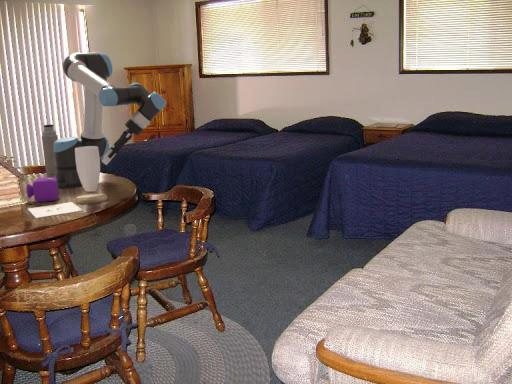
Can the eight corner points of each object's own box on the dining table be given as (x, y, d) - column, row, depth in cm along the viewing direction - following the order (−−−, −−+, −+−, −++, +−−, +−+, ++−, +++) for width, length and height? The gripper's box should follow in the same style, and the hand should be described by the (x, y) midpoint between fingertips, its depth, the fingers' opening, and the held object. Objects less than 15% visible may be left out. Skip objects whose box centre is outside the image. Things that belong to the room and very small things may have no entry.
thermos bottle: (43, 177, 298) (37, 125, 292) (51, 175, 306) (45, 124, 300) (57, 177, 297) (51, 125, 291) (64, 175, 305) (58, 123, 299)
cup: (101, 199, 237) (96, 148, 232) (76, 200, 236) (71, 149, 231) (105, 193, 247) (101, 145, 242) (82, 195, 246) (77, 146, 242)
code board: (27, 209, 230) (27, 208, 230) (71, 202, 239) (71, 202, 239) (36, 218, 215) (35, 217, 215) (82, 210, 224) (82, 210, 224)
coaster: (72, 200, 244) (72, 196, 243) (101, 195, 250) (101, 192, 250) (80, 205, 233) (80, 202, 233) (110, 200, 240) (110, 197, 239)
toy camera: (26, 199, 248) (23, 177, 246) (58, 196, 253) (56, 174, 251) (27, 204, 238) (24, 182, 236) (60, 200, 243) (58, 178, 241)
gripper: (144, 132, 227) (110, 171, 228) (144, 126, 251) (113, 161, 252) (129, 120, 225) (95, 159, 226) (131, 115, 249) (99, 150, 250)
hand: (104, 160), depth 239 cm, fingers open, 13 cm apart
